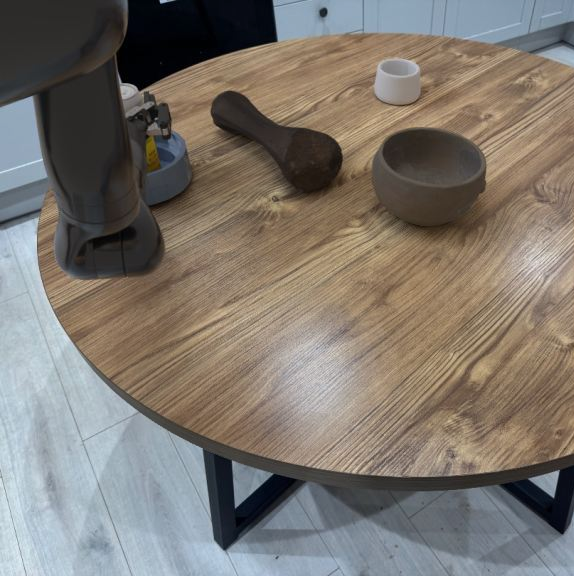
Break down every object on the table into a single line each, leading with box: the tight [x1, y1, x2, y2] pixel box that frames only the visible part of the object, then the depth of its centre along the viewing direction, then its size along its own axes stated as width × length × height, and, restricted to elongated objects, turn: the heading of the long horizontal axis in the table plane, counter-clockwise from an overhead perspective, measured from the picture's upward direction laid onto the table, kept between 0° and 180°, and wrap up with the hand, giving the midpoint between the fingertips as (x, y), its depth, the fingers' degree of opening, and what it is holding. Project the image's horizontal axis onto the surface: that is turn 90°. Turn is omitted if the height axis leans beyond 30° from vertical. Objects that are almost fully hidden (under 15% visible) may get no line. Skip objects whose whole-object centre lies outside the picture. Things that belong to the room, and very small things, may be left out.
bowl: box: [370, 126, 488, 227], centre depth 89 cm, size 17×18×10 cm
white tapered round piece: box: [373, 58, 422, 106], centre depth 118 cm, size 12×10×6 cm
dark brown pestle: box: [209, 90, 344, 193], centre depth 98 cm, size 11×10×28 cm
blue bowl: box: [145, 129, 193, 206], centre depth 91 cm, size 15×15×6 cm
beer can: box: [120, 82, 161, 173], centre depth 88 cm, size 6×6×15 cm
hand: (116, 99), depth 82 cm, fingers open, 8 cm apart
